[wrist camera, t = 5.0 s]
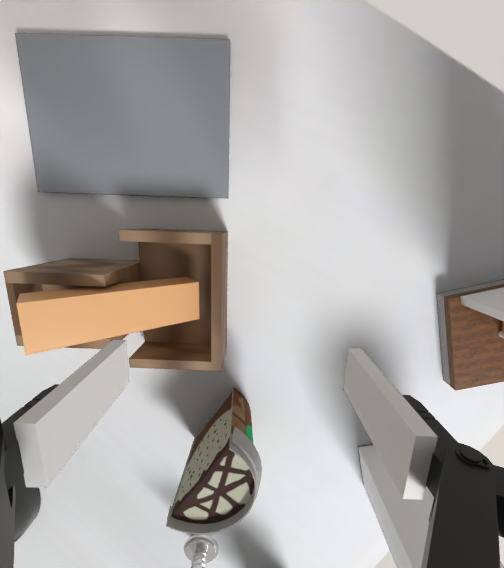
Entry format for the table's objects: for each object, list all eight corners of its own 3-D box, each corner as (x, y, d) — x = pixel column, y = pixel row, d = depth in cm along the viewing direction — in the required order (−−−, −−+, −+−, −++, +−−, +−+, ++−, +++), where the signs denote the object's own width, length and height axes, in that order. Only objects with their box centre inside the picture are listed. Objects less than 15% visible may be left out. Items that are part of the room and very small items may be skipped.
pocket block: (79, 342, 32) (23, 381, 24) (65, 226, 29) (-5, 227, 21) (226, 348, 32) (216, 388, 24) (227, 231, 29) (217, 235, 21)
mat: (42, 192, 28) (38, 191, 28) (20, 37, 25) (15, 33, 24) (228, 198, 28) (227, 197, 28) (230, 43, 25) (229, 39, 24)
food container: (226, 467, 36) (215, 557, 27) (188, 445, 36) (163, 529, 26) (279, 403, 34) (288, 477, 24) (239, 379, 33) (232, 444, 23)
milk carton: (411, 436, 35) (589, 682, 16) (415, 479, 36) (581, 747, 18) (357, 445, 35) (469, 694, 17) (363, 487, 37) (473, 757, 18)
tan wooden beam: (27, 340, 22) (25, 355, 19) (19, 293, 21) (16, 303, 19) (187, 310, 30) (199, 318, 28) (186, 276, 29) (198, 282, 27)
